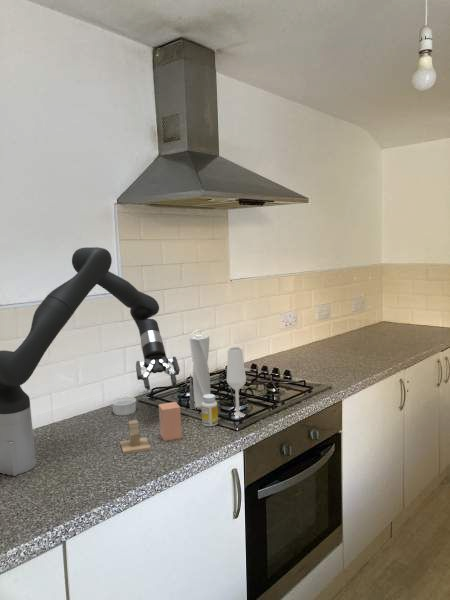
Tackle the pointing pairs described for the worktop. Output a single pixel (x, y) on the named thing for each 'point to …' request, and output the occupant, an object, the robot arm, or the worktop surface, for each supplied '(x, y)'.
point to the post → (134, 440)
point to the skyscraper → (199, 369)
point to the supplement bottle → (209, 410)
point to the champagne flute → (236, 373)
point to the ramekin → (124, 405)
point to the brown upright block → (170, 421)
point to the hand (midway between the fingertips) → (161, 387)
